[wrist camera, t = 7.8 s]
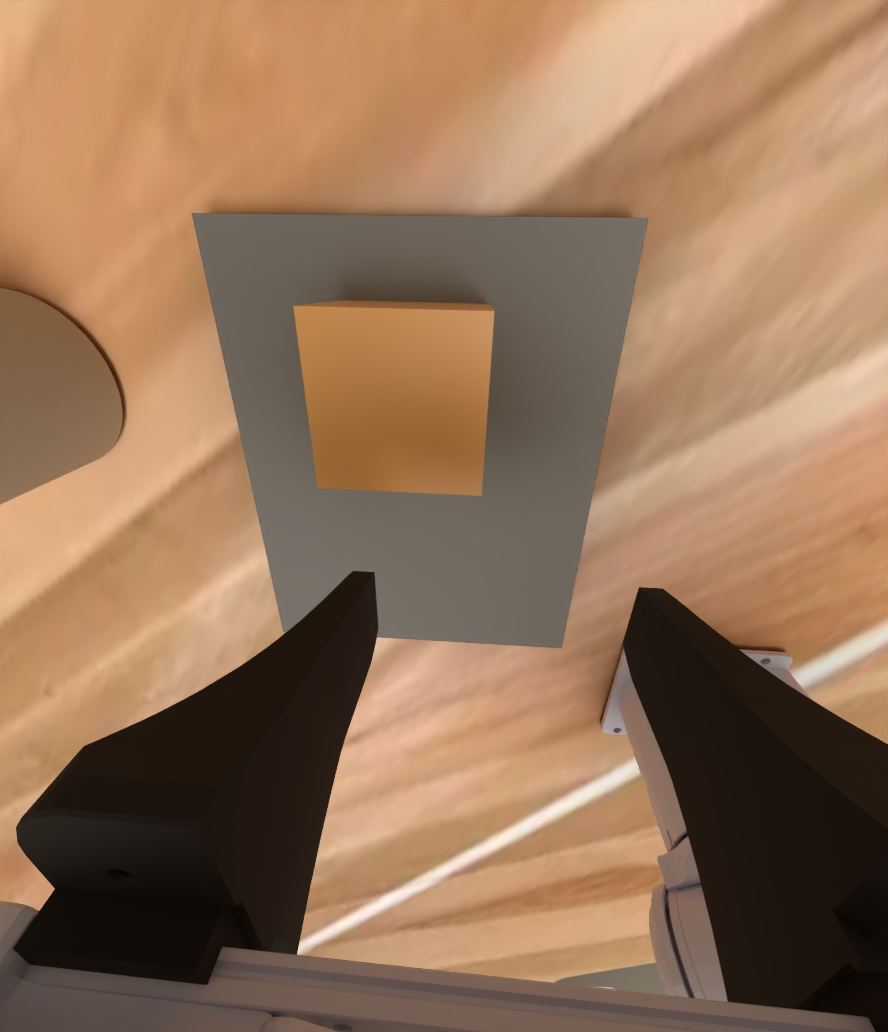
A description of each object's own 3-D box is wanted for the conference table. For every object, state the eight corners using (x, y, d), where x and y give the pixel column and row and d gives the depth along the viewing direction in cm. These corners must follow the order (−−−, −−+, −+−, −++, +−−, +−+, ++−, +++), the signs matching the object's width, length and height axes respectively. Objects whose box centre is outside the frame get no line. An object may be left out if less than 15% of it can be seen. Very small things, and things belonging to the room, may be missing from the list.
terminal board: (633, 223, 16) (694, 200, 11) (557, 629, 25) (574, 701, 21) (214, 218, 17) (120, 195, 12) (293, 614, 26) (256, 680, 22)
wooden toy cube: (489, 303, 16) (494, 311, 12) (480, 446, 19) (481, 495, 14) (342, 300, 16) (293, 306, 12) (354, 441, 19) (317, 488, 15)
